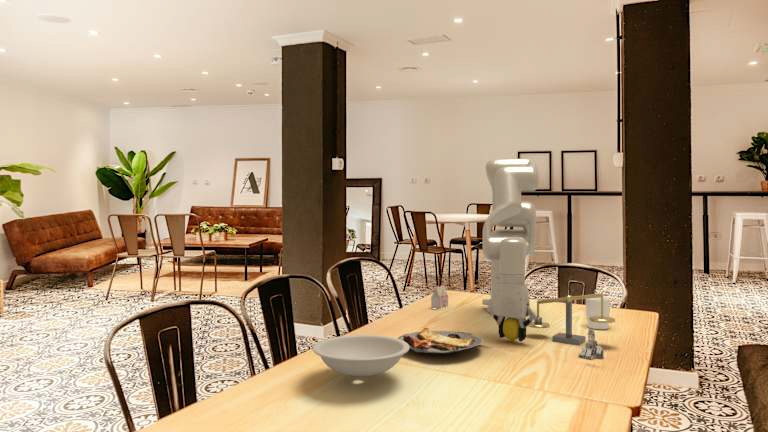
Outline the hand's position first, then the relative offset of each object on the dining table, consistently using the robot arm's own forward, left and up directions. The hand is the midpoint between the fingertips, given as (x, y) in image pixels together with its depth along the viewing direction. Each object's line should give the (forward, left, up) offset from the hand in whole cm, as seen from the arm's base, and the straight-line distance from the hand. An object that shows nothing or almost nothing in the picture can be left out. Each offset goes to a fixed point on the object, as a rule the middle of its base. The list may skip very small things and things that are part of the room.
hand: (512, 338), depth 161 cm
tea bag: (-44, +28, -1) cm, 52 cm away
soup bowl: (-16, -51, -1) cm, 53 cm away
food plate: (-15, -18, -2) cm, 23 cm away
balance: (+13, +12, -1) cm, 18 cm away
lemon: (0, 0, -1) cm, 1 cm away
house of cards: (+26, -2, -2) cm, 26 cm away
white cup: (+14, +37, -1) cm, 39 cm away
